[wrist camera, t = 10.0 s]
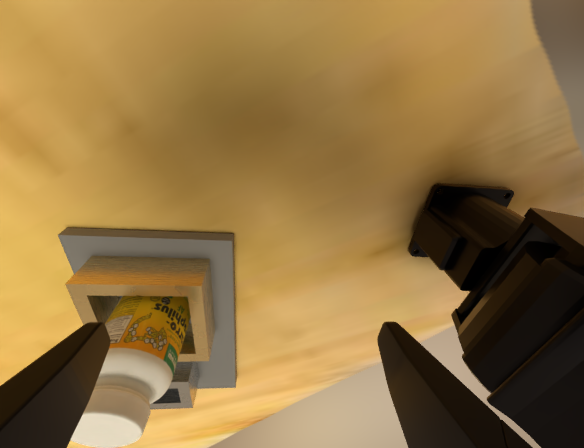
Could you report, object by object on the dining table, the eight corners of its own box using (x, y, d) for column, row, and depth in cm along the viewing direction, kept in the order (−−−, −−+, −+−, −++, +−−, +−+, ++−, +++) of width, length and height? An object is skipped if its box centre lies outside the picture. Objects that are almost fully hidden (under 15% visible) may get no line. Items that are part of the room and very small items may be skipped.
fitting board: (233, 233, 21) (232, 240, 20) (236, 378, 31) (235, 387, 30) (67, 227, 19) (57, 234, 19) (126, 381, 29) (122, 390, 28)
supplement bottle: (113, 286, 21) (14, 424, 13) (171, 263, 21) (106, 394, 12) (155, 325, 24) (96, 461, 16) (208, 306, 23) (175, 438, 15)
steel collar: (196, 350, 26) (188, 381, 24) (199, 376, 28) (192, 407, 26) (147, 351, 26) (134, 383, 23) (155, 377, 28) (144, 409, 25)
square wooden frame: (209, 258, 21) (201, 285, 18) (215, 330, 25) (209, 361, 22) (91, 255, 20) (65, 283, 17) (118, 331, 24) (100, 363, 21)
